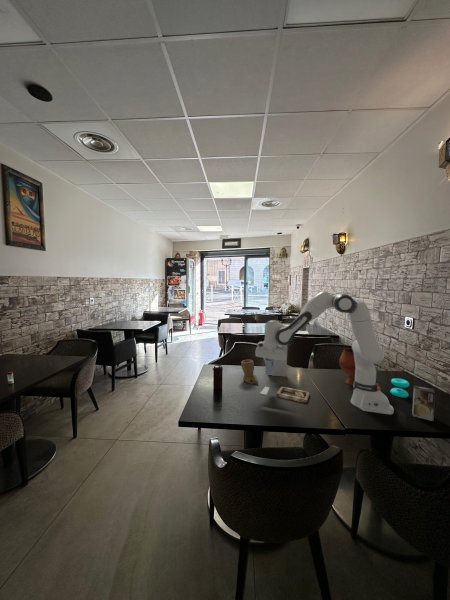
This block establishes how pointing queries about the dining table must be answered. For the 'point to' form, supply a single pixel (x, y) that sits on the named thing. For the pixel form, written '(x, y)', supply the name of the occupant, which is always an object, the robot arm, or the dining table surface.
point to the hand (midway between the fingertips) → (270, 365)
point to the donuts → (398, 391)
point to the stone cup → (249, 371)
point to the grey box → (280, 365)
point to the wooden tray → (292, 396)
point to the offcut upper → (299, 394)
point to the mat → (264, 391)
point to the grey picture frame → (423, 403)
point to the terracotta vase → (348, 364)
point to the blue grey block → (269, 366)
